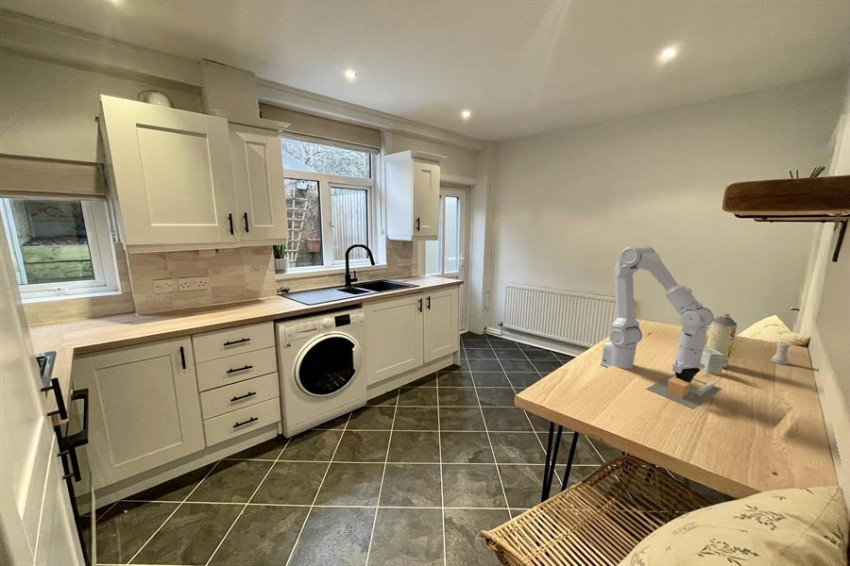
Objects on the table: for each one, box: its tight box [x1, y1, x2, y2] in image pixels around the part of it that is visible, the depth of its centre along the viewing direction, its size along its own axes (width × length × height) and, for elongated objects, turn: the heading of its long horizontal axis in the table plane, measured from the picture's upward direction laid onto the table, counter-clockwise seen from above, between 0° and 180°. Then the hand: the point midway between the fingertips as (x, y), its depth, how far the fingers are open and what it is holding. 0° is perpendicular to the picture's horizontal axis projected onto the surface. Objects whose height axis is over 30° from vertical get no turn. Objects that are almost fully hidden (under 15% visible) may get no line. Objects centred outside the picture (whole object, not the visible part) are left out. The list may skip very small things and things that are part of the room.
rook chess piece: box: [770, 341, 791, 366], centre depth 122 cm, size 4×4×8 cm
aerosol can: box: [706, 312, 738, 369], centre depth 118 cm, size 7×7×20 cm
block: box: [666, 377, 691, 399], centre depth 95 cm, size 4×4×4 cm
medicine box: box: [699, 345, 725, 377], centre depth 112 cm, size 8×4×9 cm, turn 168°
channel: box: [645, 373, 723, 410], centre depth 99 cm, size 12×22×3 cm, turn 121°
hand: (681, 388), depth 97 cm, fingers closed
